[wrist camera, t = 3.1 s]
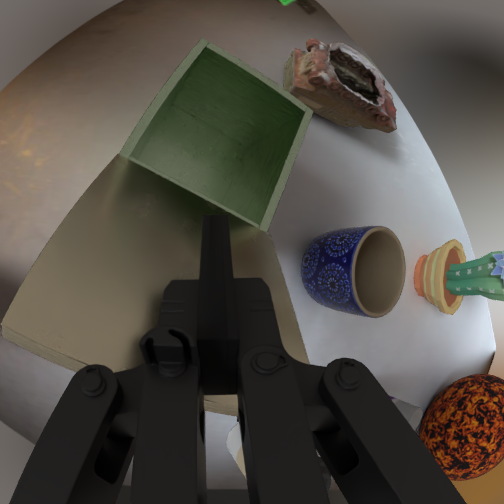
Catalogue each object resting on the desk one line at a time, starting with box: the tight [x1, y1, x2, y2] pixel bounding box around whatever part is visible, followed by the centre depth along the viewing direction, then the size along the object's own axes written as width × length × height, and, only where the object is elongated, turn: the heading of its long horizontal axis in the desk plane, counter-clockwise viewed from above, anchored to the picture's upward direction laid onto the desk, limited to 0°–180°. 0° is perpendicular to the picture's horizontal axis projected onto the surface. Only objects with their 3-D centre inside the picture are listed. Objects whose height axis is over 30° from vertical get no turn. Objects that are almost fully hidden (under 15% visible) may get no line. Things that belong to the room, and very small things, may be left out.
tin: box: [119, 38, 313, 233], centre depth 28 cm, size 14×13×13 cm
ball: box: [419, 374, 504, 481], centre depth 49 cm, size 30×30×30 cm
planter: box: [301, 226, 405, 318], centre depth 37 cm, size 11×11×11 cm
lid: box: [1, 154, 310, 416], centre depth 14 cm, size 14×13×1 cm
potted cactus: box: [414, 239, 504, 315], centre depth 45 cm, size 15×15×25 cm
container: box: [388, 395, 423, 431], centre depth 39 cm, size 5×5×15 cm
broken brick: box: [283, 39, 397, 133], centre depth 39 cm, size 13×20×10 cm, turn 76°
